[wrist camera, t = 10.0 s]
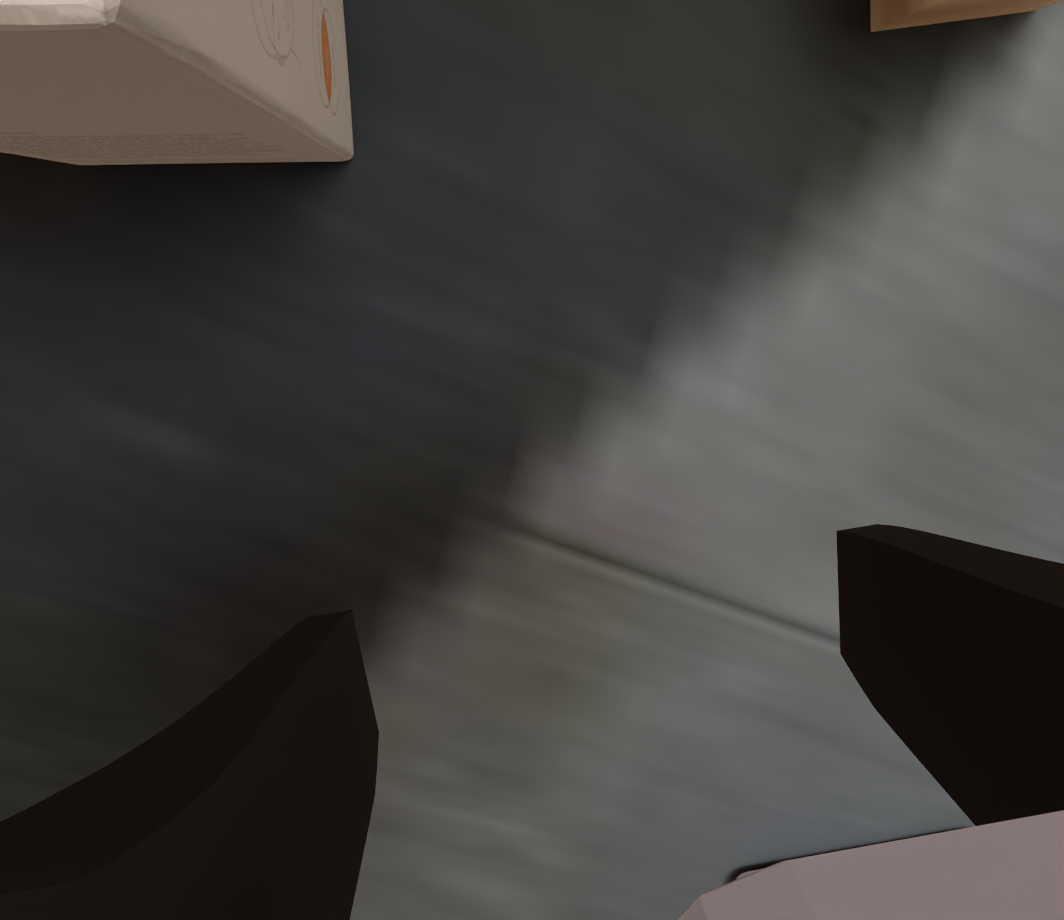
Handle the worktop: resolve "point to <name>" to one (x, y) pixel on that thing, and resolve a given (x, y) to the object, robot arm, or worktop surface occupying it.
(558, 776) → the worktop surface
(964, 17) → the light oak brick
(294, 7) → the small box
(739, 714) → the worktop surface
